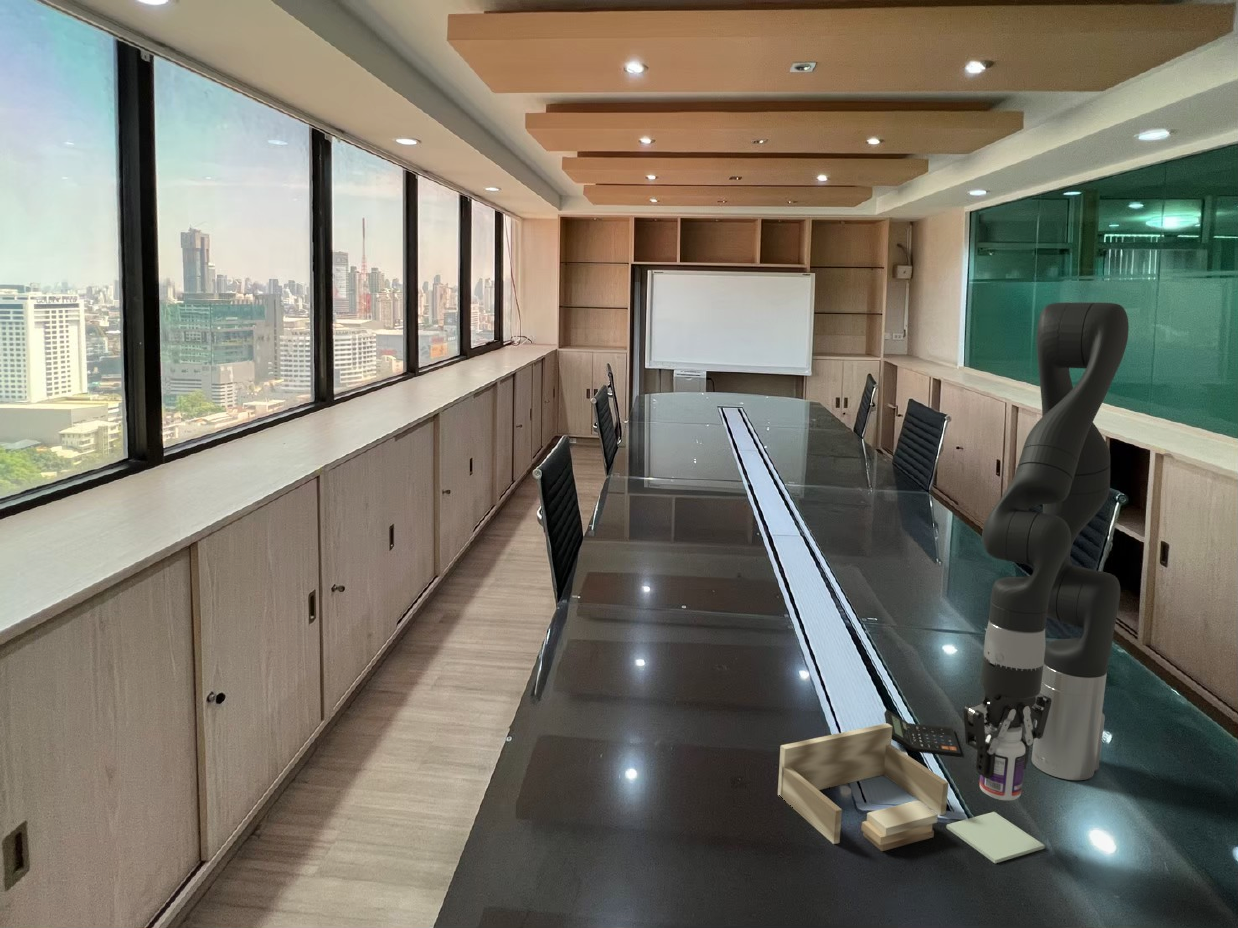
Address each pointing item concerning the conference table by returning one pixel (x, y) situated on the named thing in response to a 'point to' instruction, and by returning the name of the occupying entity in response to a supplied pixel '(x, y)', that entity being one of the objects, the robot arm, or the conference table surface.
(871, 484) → the conference table surface
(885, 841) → the offcut stack
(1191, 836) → the conference table surface
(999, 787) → the pill bottle
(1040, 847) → the sage mat
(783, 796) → the enclosure
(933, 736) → the calculator
